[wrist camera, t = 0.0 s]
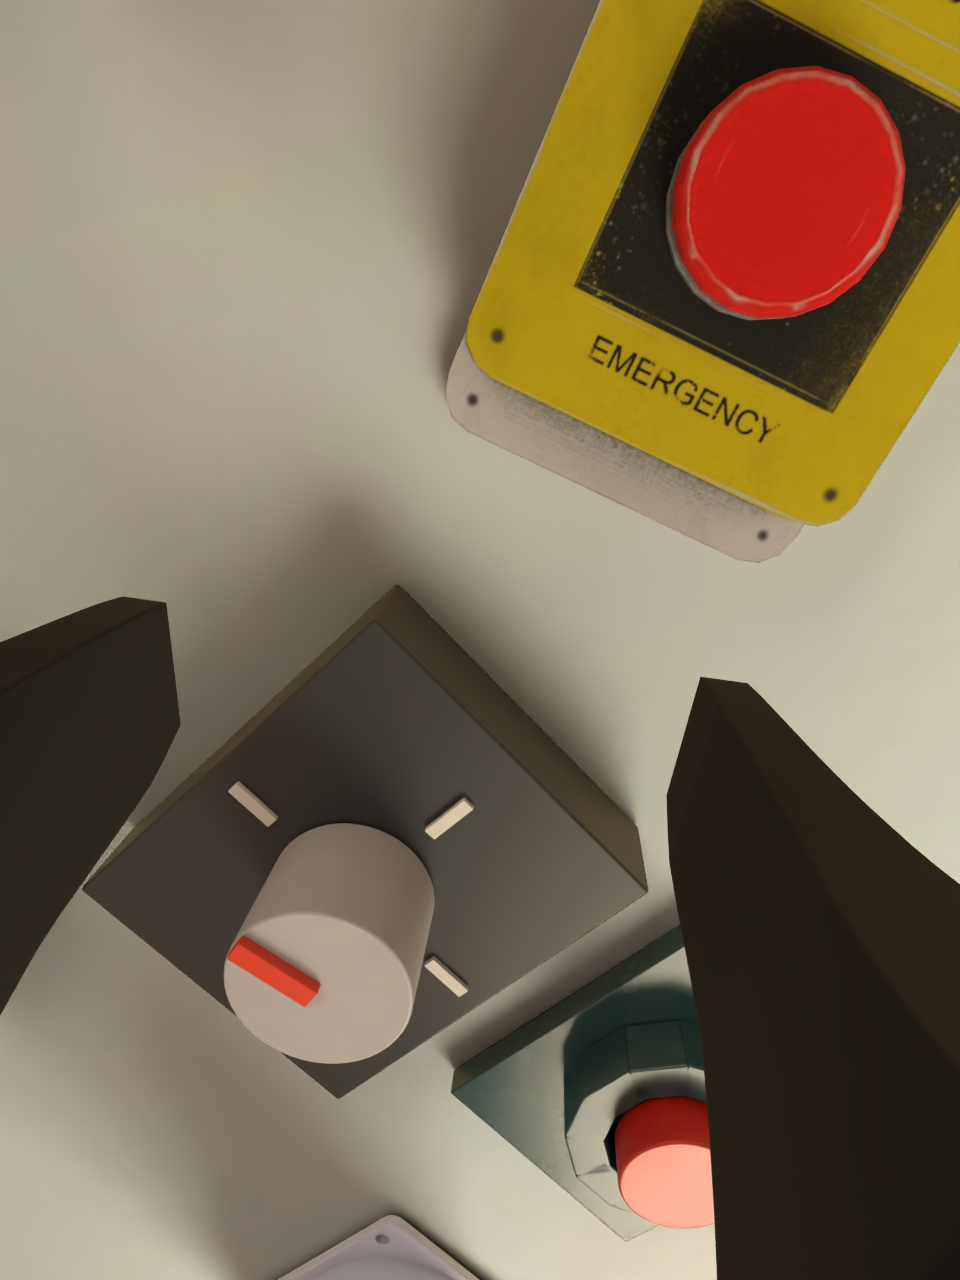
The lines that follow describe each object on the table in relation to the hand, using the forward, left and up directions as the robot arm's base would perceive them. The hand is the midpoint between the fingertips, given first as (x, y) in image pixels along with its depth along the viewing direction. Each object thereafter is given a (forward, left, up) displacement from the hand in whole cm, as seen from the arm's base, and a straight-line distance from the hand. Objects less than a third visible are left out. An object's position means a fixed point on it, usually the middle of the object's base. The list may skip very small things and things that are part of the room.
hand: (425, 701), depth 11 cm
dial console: (-9, -4, -11) cm, 14 cm away
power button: (-8, -17, -8) cm, 21 cm away
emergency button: (+10, +2, -11) cm, 15 cm away
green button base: (-8, -17, -11) cm, 22 cm away
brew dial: (-9, -4, -7) cm, 12 cm away
